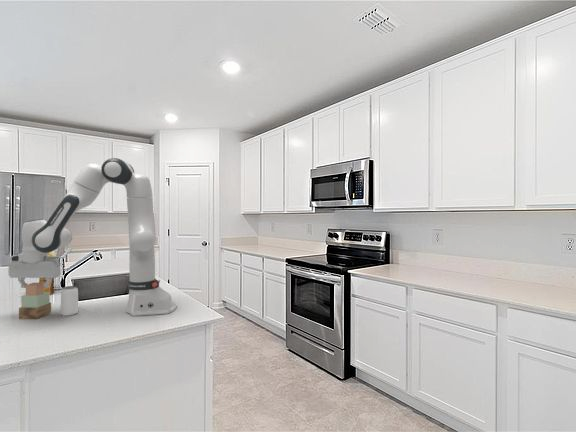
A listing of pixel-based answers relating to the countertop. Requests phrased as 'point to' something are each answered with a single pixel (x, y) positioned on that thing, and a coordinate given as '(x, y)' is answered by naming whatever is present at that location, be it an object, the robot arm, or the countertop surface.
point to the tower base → (34, 312)
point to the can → (69, 300)
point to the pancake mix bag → (51, 284)
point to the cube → (34, 289)
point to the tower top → (35, 300)
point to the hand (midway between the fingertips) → (35, 287)
